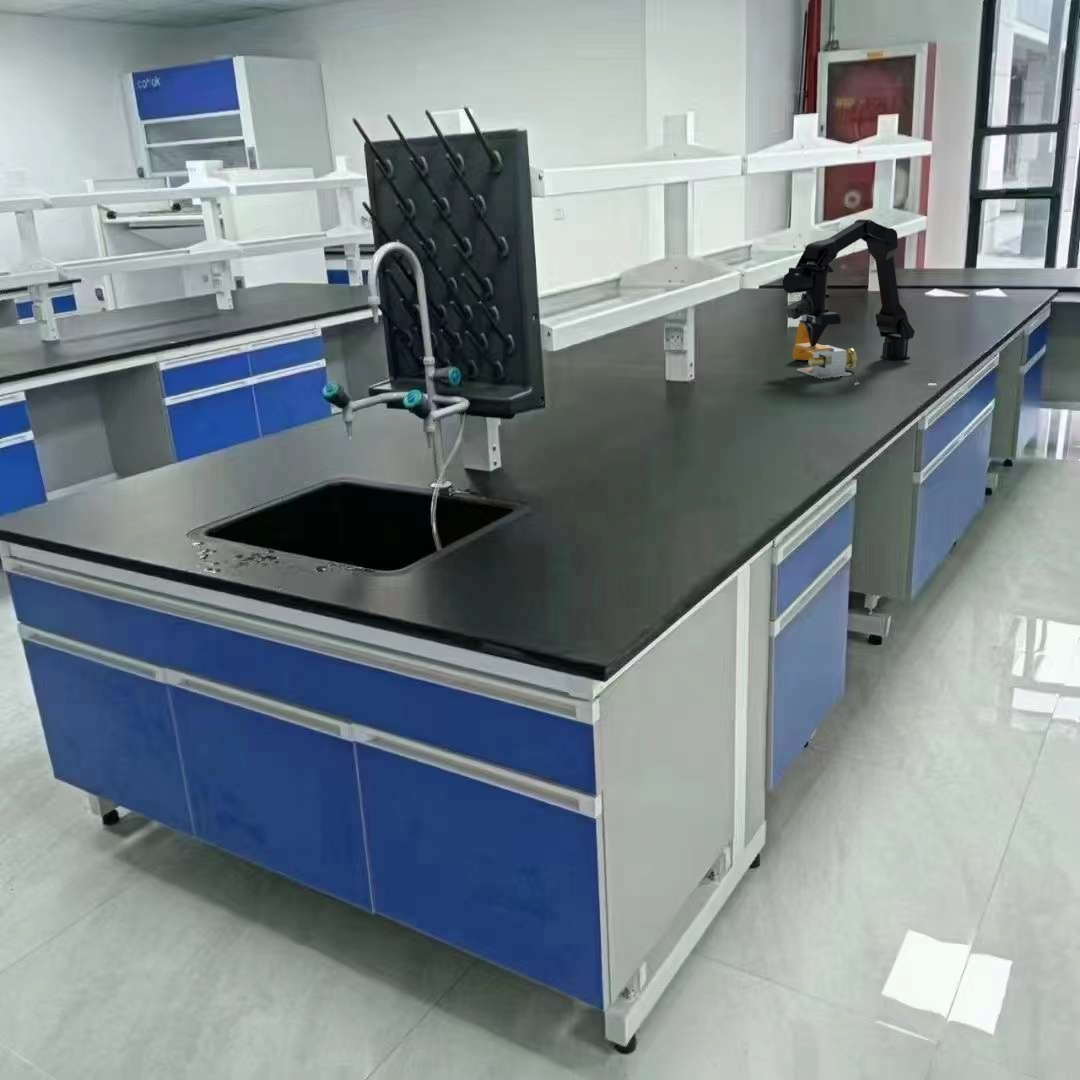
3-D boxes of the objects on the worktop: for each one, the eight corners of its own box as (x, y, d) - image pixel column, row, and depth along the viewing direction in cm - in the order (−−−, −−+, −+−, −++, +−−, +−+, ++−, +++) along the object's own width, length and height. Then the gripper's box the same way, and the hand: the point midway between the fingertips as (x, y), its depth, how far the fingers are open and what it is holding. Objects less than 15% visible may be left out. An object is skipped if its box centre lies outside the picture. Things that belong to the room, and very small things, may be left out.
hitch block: (827, 367, 307) (828, 343, 304) (851, 375, 295) (853, 350, 293) (796, 370, 304) (798, 346, 302) (820, 378, 293) (821, 354, 290)
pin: (845, 365, 304) (847, 346, 302) (856, 369, 299) (857, 349, 297) (804, 370, 301) (805, 351, 299) (815, 373, 296) (815, 354, 294)
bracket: (813, 363, 314) (815, 323, 310) (792, 361, 318) (793, 321, 314) (830, 357, 321) (832, 318, 317) (809, 355, 326) (811, 316, 322)
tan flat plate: (814, 345, 302) (814, 341, 302) (834, 351, 293) (834, 347, 292) (794, 348, 300) (795, 344, 300) (813, 353, 291) (813, 349, 291)
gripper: (773, 288, 297) (771, 343, 302) (807, 295, 280) (804, 353, 285) (808, 286, 300) (805, 340, 305) (844, 292, 283) (840, 350, 288)
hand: (812, 345), depth 296 cm, fingers closed, pressing on tan flat plate
